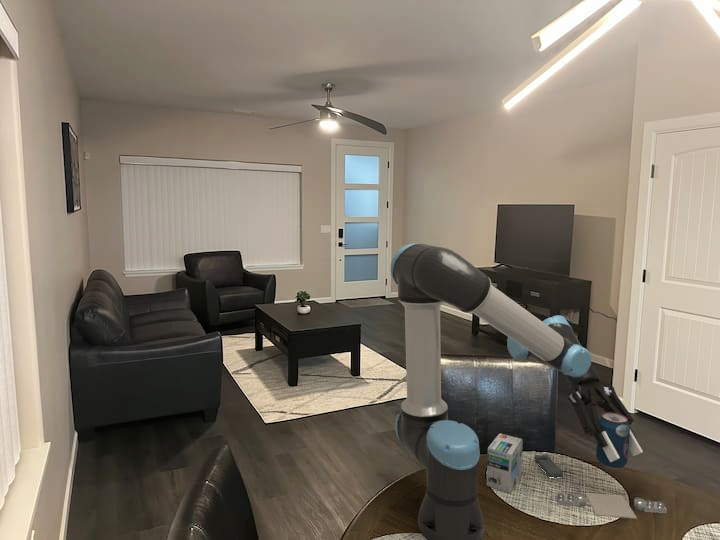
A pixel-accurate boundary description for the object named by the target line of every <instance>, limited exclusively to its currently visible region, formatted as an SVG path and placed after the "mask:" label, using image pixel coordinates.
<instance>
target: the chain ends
mask: <svg viewBox="0 0 720 540" xmlns="http://www.w3.org/2000/svg"><path fill="white" fill-rule="evenodd" d="M587 498H588V499H587ZM555 499H556V501H558V502H557V504H558V505H559V504H560V505H561V506H569V505H571V506H572V505H573V506H572V507H586V506H587V501H588V502H589V504H590V506H591V509H592V510H593V512H594V514H595V515H596V516H598V517H612V518H613V517H614V518H615V517H616V518H623V519H624V518H625V519H635V520H638V517H637V515H636V514H635V512H634V511H633V509H632V508H631V506H630V504H629V503H628V501H627V500H626V498H625V496H624V495H621V494H606V493H597V492H596V493H593V492H585V493H581V492H576V493H575V494H572V493H568V494H565V493H562V492H561V493H560V492H558V493H555ZM560 505H559V506H560ZM585 505H586V506H585ZM571 506H570V507H571ZM633 508H634V509H635V510H637V511H639V512H644V513H656V514H667V511H668V510H667V507H666V506H665V502H664V501H661V500H658V501H653V500H649V499H648V500H646V499H644V498H641V497H634V501H633Z"/></svg>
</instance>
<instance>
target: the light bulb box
mask: <svg viewBox="0 0 720 540" xmlns="http://www.w3.org/2000/svg"><path fill="white" fill-rule="evenodd" d="M523 442H524V441H523V439H522V438H519V437H515V436H511V435H508V434H503V433H501V432H500V433H499V434H498V435H496V437H495V438H494V439H493V441H492V442H491V444H490V445H489V446H488V447H487V464H486V486H487V487H490V488H492V489H497V490H500V491H504V492H505V493H509V494H511V493H512V491H513V490H514V488H515V486H516V484H518V482H519V480H520V478H521V477H522V462H523V461H522V460H523ZM520 476H521V477H520ZM517 481H518V482H517Z"/></svg>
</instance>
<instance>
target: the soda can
mask: <svg viewBox="0 0 720 540" xmlns="http://www.w3.org/2000/svg"><path fill="white" fill-rule="evenodd" d="M599 422H600V426H601V430H602V431H601V432H603V431H605V432H606V433H607V435H608V437H609V439H610V441H611V443H612V444H613V446H614V448H615V450H616V452H617V454H618V455H619V457H620V458H619V459H617V460H615V461H613V462H610V461H609V459H608V457H607V455H606V453H605V452H604V450H603V448H601V447H600V446H599V444H598V442H597V441H596V452H595V456H596V458H597V461H598V463H600V465H602V466H603V467H606V468H609V469H613V470H620V469H623V468H624V467H625V466H626V465H627V464H628V458H629V435H630V427H631V425H629V423H628V418H627V417H625V416H624V415H621V414H618V413H613V412H603V413H602V414H601V416H600V418H599Z"/></svg>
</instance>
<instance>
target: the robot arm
mask: <svg viewBox="0 0 720 540" xmlns="http://www.w3.org/2000/svg"><path fill="white" fill-rule="evenodd" d="M390 274H391V275H390V276H391V278H392V279H393V282H394V283H395V284H396V285H397V299H398V302H399V303H400V304H401V305H402V306H403V307H404V327H405V328H404V329H405V330H404V332H405V334H404V335H405V367H406V369H405V370H406V371H405V374H406V378H405V379H406V399H405V400H403V401H402V402H401V404H400V405H401V406H400V410H399V413H397V415H396V418H395V422H394V429H395V434H396V437H397V439H398V440H399V442H400V445H402V447H403V448H404V449H405V450H406V451H408V452H409V454H411V456H413V458H415V460H417V461H418V463H419V464H420V465H421V467H423V468H424V469H425V472H426V476H425V477H426V478H425V479H426V480H425V481H426V482H425V484H426V486H425V487H426V488H425V489H426V490H425V494H424V497H423V499H422V502H421V505H420V507H419V510H418V513H417V526H418V530H419V532H420V533H421V535H422V536H423V537H425V538H426V539H427V540H481V539H482V538H483V537H484V533H485V519H484V516H483V511H482V509H481V505H480V503H479V499H478V492H479V491H478V490H479V489H478V488H479V487H478V486H479V468H480V467H479V466H480V465H479V463H480V456H481V453H480V451H481V450H480V442H479V437H478V435H477V434H476V432H475V431H474V430H473V429H472V428H471V427H469V425H467V424H465V423H462V422H461V423H458V421H455V420H450V419H449V417H448V416H449V415H448V411H449V410H448V404H447V402H446V401H445V400H443V399H442V368H441V367H442V364H441V363H442V358H441V357H442V356H441V346H442V345H441V344H442V343H441V306H442V305H443V304H444V303H445V304H448V305H450V306H453V307H454V308H456V309H458V310H460V311H461V312H463V313H466V314H468V313H470V314H474V315H475V316H476V317H478V318H479V319H481V320H482V321H484V322H485V323H487V324H489V326H491V327H492V328H494V329H496V330H497V331H498V332H500V333H502V334H504V335H505V336H506V337H507V340H506V343H507V345H506V346H507V347H506V348H507V351H508V353H509V355H510V356H511V357H512V358H513V359H515V360H527V359H530V360H533V361H536V362H538V363H540V364H542V365H544V366H547V367H549V368H552V369H554V370H556V371H558V372H560V373H562V374H563V375H565V380H566V381H567V383H568V385H569V386H570V388H571V389H572V390H574V392H573V393H571V394H570V395H568V397H567V399H568V401H569V402H570V404H572V406H573V408H574V411H575V413H576V416H577V418H578V420H579V422H580V425H581V428H582V430H583V432H584V434H586V435H589V436H590V437H594V438H595V441H596V443H597V442H598V444H599V446H600V447H601V448H603V450H604V452H605V453H606V455H607V457H608V459H609V461H610V462H613V461H615V460H617V459H619V458H620V457H619V455H618V454H617V452H616V450H615V448H614V446H613V444H612V443H611V441H610V439H609V437H608V435H607V433H606V432H605V431H603V432H601V431H602V430H601V426H600V422H599V419H600V418H599V414H598V410H597V406H598V407H599V408H601V409H603V411H605V412H604V413H606V412H613V413H618V414H621V415H624V416H625V417H627V418H628V423H629V425H630V435H629V448H628V450H629V452H630V453H631V455H632V456H633V457H635V456H638V455H639V454H642V453H643V452H644V451H643V449H642V447H641V446H640V444H639V443H638V441H637V437H636V435H635V433H634V431H633V429H632V428H631V425H632V424H633V423H634V422H635V420H634V418H633V416H632V414H631V413H630V412H629V410H628V409H627V408H626V406H625V404H624V403H623V402H622V401H621V399H620V397H619V395H618V394H617V393H616V390H615V387H614V385H610V386H607V387H606V386H604V385H603V384H602V383H601V382H600V375H599V373H598V371H597V370H596V368H595V366H593V365H592V356H591V354H590V351H589V350H588V349H587V348H585V347H583V346H582V344H581V343H580V341H579V339H578V337H577V335H576V334H575V332H574V330H573V328H572V326H571V325H570V324H569V322H568V321H567V319H566V317H564V316H563V315H553V316H552V317H548V318H546V319H544V320H541V319H539V318H538V317H536V316H535V315H533V314H532V313H531V312H530V311H528V310H527V309H526V308H524V307H523V306H521V305H520V304H518V303H517V302H516V301H514V300H513V299H512V298H510V297H509V296H507V295H506V294H505V293H503V292H502V291H501V290H499V289H498V288H496V287H495V286H493V284H492V281H491V279H490V277H489V276H488V275H487V274H485V273H484V272H483V271H480V269H478V267H476V266H474V265H473V264H472V263H471V262H469V261H468V260H467V259H466V258H464V257H463V256H461V255H460V254H459V253H457V252H455V251H453V250H452V249H450V248H446V247H443V246H442V247H441V246H435V245H430V244H427V243H419V242H418V243H410V244H406V245H404V246H402V247H401V248H400V249H398V250H397V252H395V254H394V255H393V258H392V260H391V262H390Z"/></svg>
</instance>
